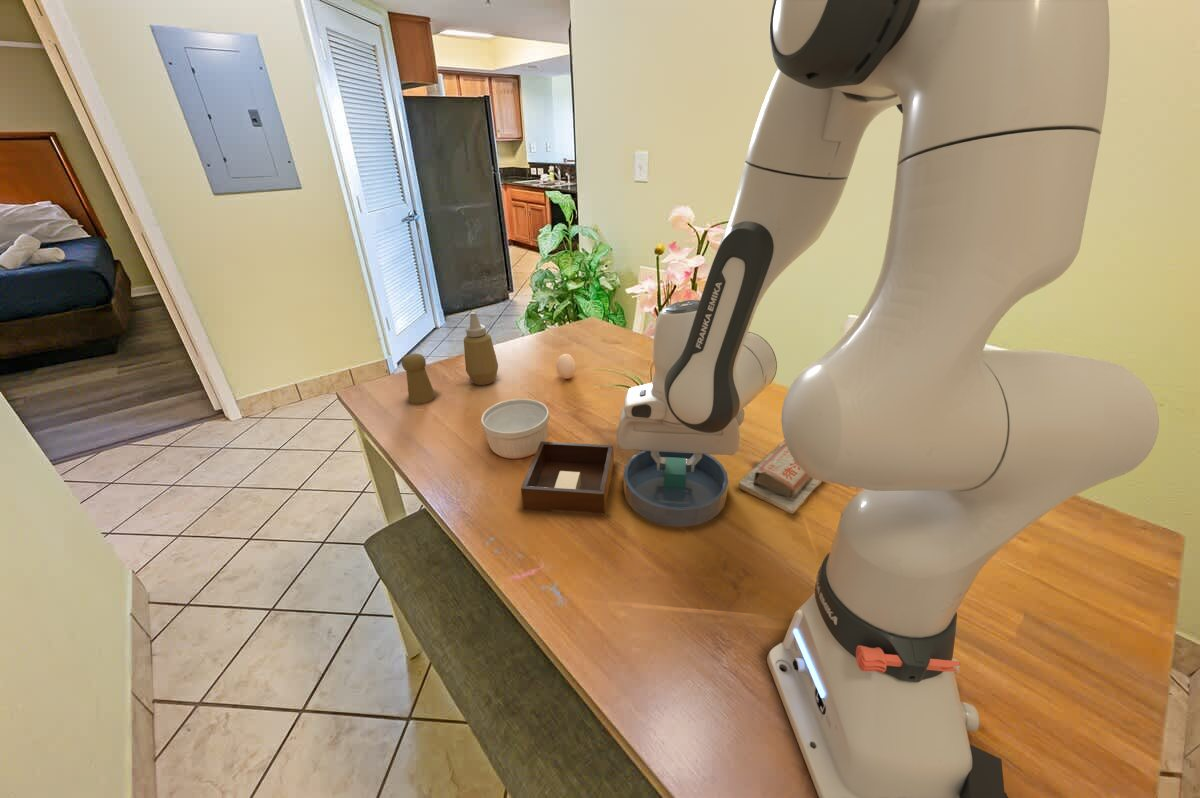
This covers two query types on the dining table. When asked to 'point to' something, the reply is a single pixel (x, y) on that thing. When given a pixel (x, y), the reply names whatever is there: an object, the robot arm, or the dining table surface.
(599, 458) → the tray
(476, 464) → the dining table surface
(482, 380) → the squeeze bottle
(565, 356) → the egg
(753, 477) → the packaged product
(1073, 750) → the dining table surface
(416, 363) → the pepper mill
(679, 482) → the teal rectangular block
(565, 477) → the beige block
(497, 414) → the ramekin
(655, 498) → the bowl
